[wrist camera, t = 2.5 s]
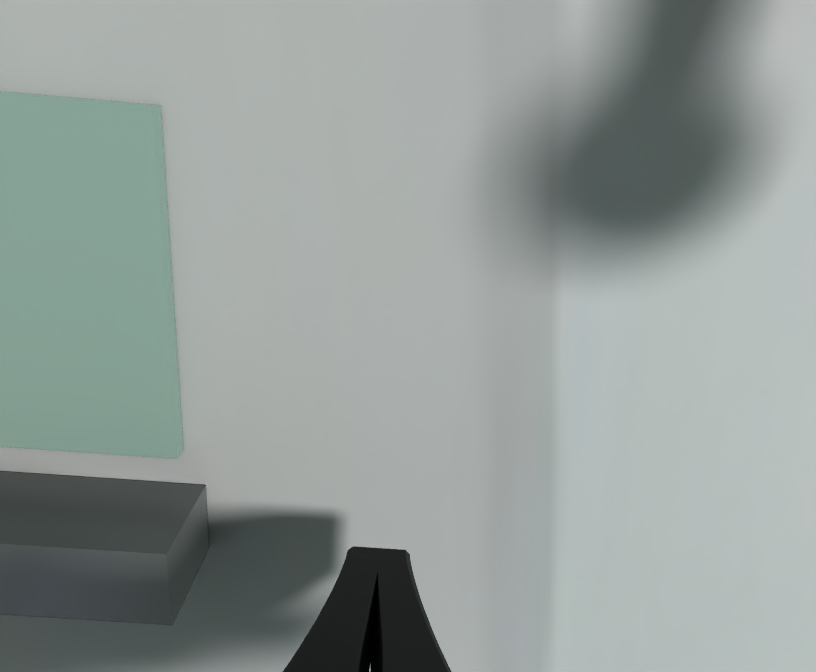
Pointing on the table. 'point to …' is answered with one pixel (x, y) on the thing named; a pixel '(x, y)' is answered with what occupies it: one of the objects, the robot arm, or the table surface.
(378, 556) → the robot arm
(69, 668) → the table surface
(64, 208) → the mat
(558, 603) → the table surface
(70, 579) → the plug
